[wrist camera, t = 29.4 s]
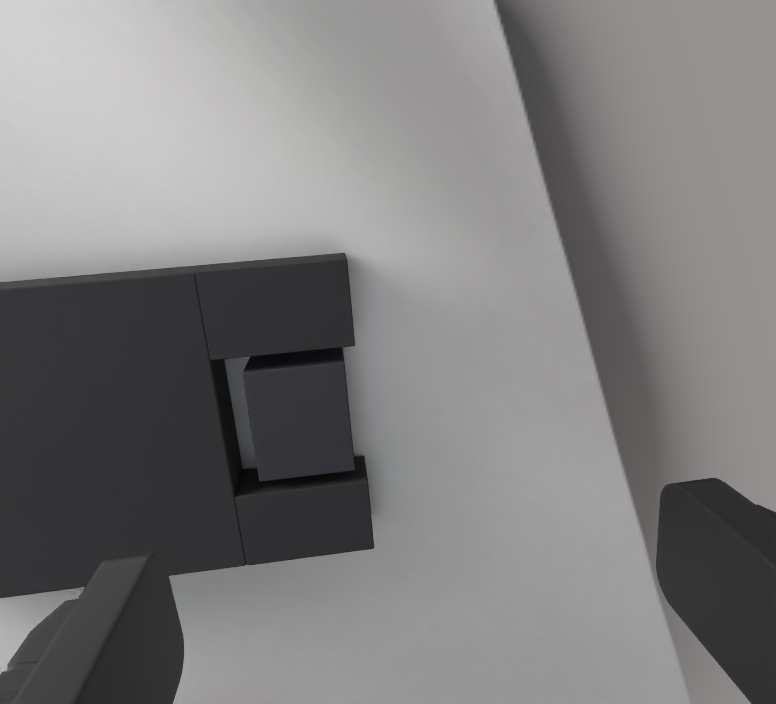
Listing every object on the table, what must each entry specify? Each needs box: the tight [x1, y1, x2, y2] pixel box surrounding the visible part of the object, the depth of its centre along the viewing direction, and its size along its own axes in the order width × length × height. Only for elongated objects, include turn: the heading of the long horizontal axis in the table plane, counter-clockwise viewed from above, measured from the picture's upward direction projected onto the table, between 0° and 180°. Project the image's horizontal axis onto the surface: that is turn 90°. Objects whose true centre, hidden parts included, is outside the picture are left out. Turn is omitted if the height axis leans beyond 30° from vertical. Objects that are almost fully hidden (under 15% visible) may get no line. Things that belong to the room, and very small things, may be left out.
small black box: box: [242, 347, 355, 481], centre depth 28 cm, size 5×6×3 cm
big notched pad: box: [0, 253, 374, 598], centre depth 28 cm, size 24×16×3 cm, turn 94°
